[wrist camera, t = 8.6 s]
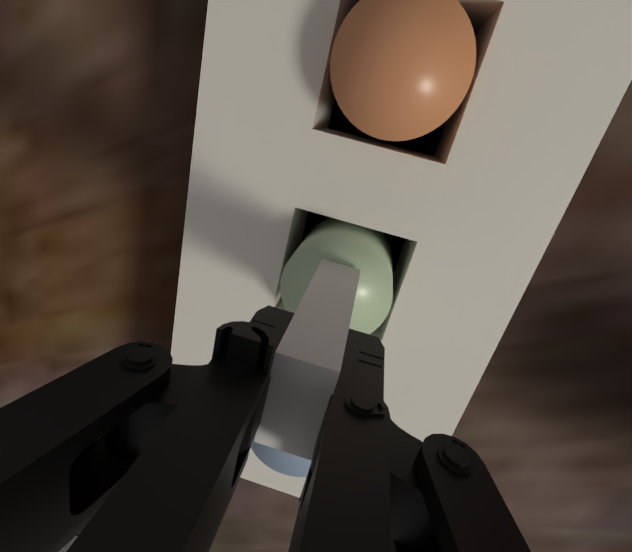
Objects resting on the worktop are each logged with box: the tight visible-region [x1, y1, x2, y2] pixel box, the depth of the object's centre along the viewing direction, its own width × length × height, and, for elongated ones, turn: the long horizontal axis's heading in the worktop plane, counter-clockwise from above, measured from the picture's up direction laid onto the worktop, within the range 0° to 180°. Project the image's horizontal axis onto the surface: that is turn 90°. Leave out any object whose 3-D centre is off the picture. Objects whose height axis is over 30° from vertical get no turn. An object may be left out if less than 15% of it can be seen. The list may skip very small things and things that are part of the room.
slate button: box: [251, 434, 311, 477], centre depth 20 cm, size 4×4×4 cm
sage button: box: [280, 217, 393, 334], centre depth 17 cm, size 4×4×4 cm
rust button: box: [330, 0, 476, 141], centre depth 14 cm, size 4×4×4 cm
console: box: [171, 0, 632, 498], centre depth 18 cm, size 26×14×4 cm, turn 167°
